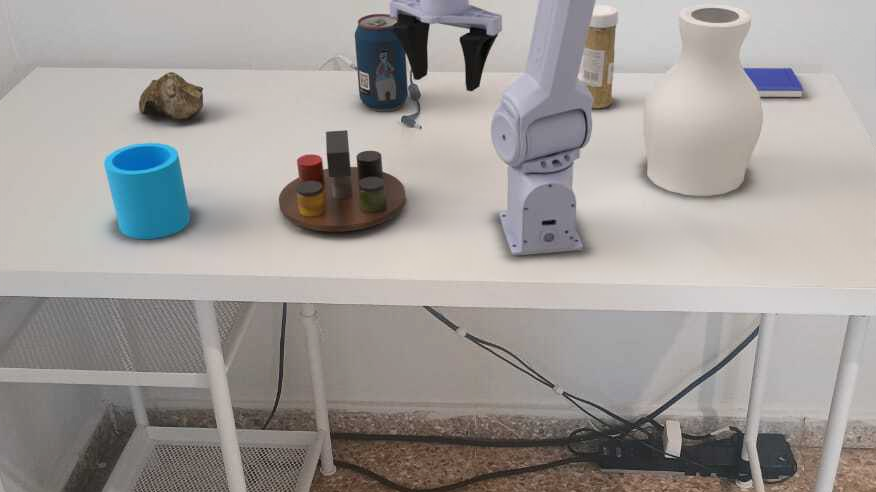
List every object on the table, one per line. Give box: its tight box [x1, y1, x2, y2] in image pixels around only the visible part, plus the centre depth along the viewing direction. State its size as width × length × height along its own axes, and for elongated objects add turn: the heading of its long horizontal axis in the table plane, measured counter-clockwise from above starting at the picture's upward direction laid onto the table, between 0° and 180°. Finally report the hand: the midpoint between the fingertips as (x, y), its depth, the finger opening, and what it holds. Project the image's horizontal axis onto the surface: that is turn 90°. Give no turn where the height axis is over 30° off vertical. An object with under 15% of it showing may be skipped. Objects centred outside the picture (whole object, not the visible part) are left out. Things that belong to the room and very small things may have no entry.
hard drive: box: [743, 67, 804, 98], centre depth 152 cm, size 2×8×12 cm
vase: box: [642, 3, 764, 197], centre depth 124 cm, size 14×14×20 cm
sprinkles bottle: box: [581, 4, 619, 109], centre depth 144 cm, size 5×5×14 cm
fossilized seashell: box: [138, 71, 204, 122], centre depth 146 cm, size 8×7×10 cm
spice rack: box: [278, 129, 407, 233], centre depth 121 cm, size 15×15×8 cm
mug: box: [103, 142, 191, 240], centre depth 121 cm, size 12×8×8 cm
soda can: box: [354, 13, 409, 112], centre depth 146 cm, size 7×7×12 cm
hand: (446, 82), depth 128 cm, fingers open, 7 cm apart
